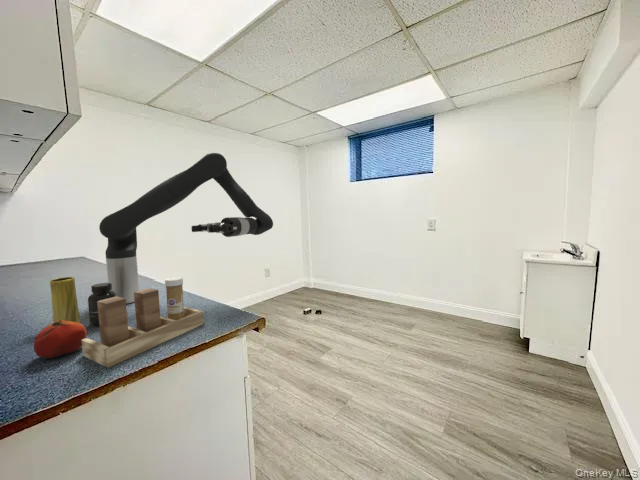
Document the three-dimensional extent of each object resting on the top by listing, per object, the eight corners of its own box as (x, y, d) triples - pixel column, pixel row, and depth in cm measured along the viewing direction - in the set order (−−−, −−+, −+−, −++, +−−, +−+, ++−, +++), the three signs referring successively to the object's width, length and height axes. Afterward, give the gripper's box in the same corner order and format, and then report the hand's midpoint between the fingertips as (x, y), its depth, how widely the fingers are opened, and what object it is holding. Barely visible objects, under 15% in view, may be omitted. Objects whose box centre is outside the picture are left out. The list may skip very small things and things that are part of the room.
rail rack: (83, 355, 62) (77, 302, 61) (180, 317, 84) (177, 278, 83) (108, 367, 57) (102, 310, 56) (204, 323, 79) (201, 282, 78)
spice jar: (166, 326, 75) (162, 280, 74) (170, 320, 80) (167, 276, 78) (183, 324, 77) (180, 279, 75) (186, 318, 81) (183, 275, 80)
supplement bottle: (91, 329, 76) (87, 289, 75) (88, 322, 81) (84, 284, 80) (120, 321, 81) (117, 284, 80) (116, 316, 86) (112, 280, 85)
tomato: (82, 340, 70) (79, 311, 69) (93, 350, 64) (90, 319, 64) (31, 355, 62) (27, 323, 61) (39, 369, 57) (34, 333, 56)
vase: (47, 330, 76) (41, 282, 74) (62, 322, 82) (57, 277, 80) (72, 328, 77) (67, 280, 76) (85, 320, 83) (81, 275, 81)
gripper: (221, 217, 107) (186, 218, 93) (248, 217, 101) (214, 218, 86) (222, 235, 108) (187, 239, 93) (249, 236, 102) (216, 240, 87)
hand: (200, 229), depth 90 cm, fingers open, 8 cm apart
